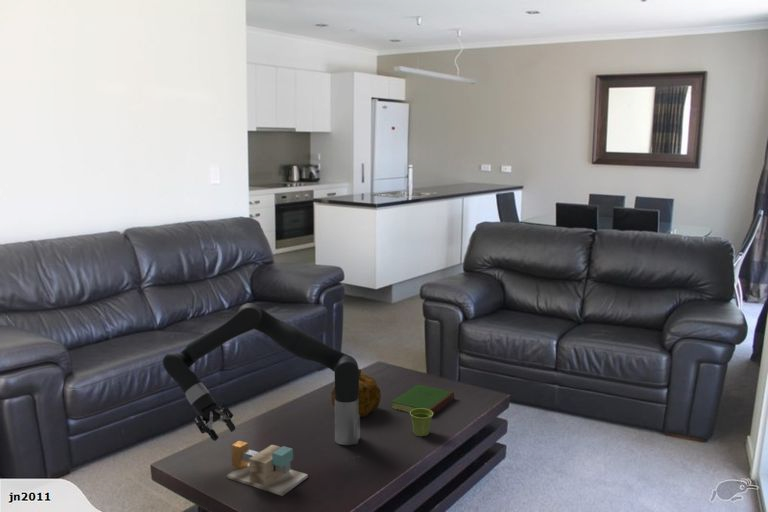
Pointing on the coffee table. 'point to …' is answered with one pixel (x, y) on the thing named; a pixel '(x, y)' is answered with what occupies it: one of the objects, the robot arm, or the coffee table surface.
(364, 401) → the decorative pumpkin
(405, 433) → the coffee table surface
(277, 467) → the shaft
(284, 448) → the block
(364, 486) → the coffee table surface
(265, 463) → the bearing block
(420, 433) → the plant pot
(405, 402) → the hardcover book
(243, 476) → the base board
